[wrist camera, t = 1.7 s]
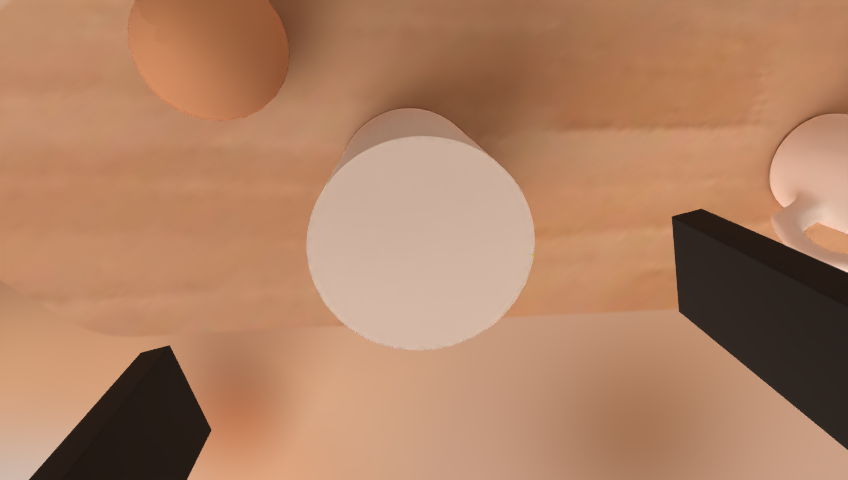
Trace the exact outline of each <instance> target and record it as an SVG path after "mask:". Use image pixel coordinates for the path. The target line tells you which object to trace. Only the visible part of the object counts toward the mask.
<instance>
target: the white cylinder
mask: <svg viewBox="0 0 848 480" xmlns="http://www.w3.org/2000/svg"><path fill="white" fill-rule="evenodd" d="M534 245H535V237H534V226H533V220H532V216H531V212H530V209H529V206H528V204H527V201H526V199H525V197H524V195H523V193H522V191H521V190H520V188H519V186H518V185H517V183H516V182H515V181H514V179H513V178H512V177H511V175H510V174H509V173H508V172H507V171H506V170H505V169H504V168H503V167H502V166H501V165H500V164H499V163H498V162H496V161H495V160H494V159H493V158H492V157H491V156H490V155H489V154H487V153H486V152H485V151H484V150H483V149H482V148H481V147H479V146H478V145H477V144H476V143H475V142H474V141H473V140H471V139H470V138H469V137H468V136H467V135H466V134H465V133H464V132H462V131H461V130H460V129H459V128H458V127H457V126H456V125H454V124H453V123H452V122H451V121H449V120H448V119H446V118H444V117H443V116H441V115H439V114H436V113H434V112H431V111H428V110H423V109H417V108H402V109H396V110H391V111H388V112H385V113H382V114H380V115H378V116H376V117H374V118H373V119H371V120H370V121H368V122H367V123H366V124H364V125H363V126H362V127H361V128H360V129H359V130H358V131H357V132H356V134H355V135H354V136H353V138H352V139H351V141H350V142H349V144H348V146H347V147H346V149H345V151H344V153H343V155H342V156H341V158H340V160H339V162H338V164H337V165H336V167H335V169H334V171H333V173H332V174H331V176H330V178H329V180H328V181H327V183H326V185H325V187H324V189H323V190H322V192H321V194H320V196H319V198H318V200H317V202H316V204H315V206H314V209H313V212H312V215H311V218H310V222H309V227H308V233H307V258H308V265H309V269H310V273H311V276H312V279H313V282H314V284H315V287H316V289H317V291H318V293H319V295H320V296H321V298H322V300H323V301H324V303H325V304H326V305H327V307H328V308H329V309H330V311H331V312H332V313H333V314H334V315H335V316H336V317H337V318H338V319H339V320H340V321H341V322H342V323H343V324H345V325H346V326H347V327H348V328H350V329H351V330H352V331H354V332H356V333H357V334H359V335H361V336H362V337H364V338H366V339H368V340H371V341H373V342H375V343H378V344H381V345H385V346H388V347H392V348H397V349H404V350H432V349H439V348H444V347H448V346H452V345H455V344H458V343H461V342H464V341H466V340H468V339H470V338H472V337H474V336H476V335H478V334H480V333H481V332H483V331H485V330H486V329H487V328H489V327H490V326H492V325H493V324H494V323H495V322H496V321H498V320H499V319H500V318H501V317H502V316H503V315H504V314H505V313H506V312H507V311H508V310H509V308H510V307H511V306H512V305H513V303H514V302H515V301H516V299H517V298H518V296H519V295H520V293H521V291H522V289H523V287H524V285H525V283H526V281H527V278H528V276H529V273H530V269H531V266H532V261H533V256H534Z"/></svg>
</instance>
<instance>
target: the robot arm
mask: <svg viewBox="0 0 848 480" xmlns="http://www.w3.org/2000/svg"><path fill="white" fill-rule="evenodd" d="M672 225H673V238H674V251H675V264H676V277H677V290H678V303H679V312H681V313H682V314H683V315H684V316H685V317H687V318H688V319H689V320H690V321H691V322H693V323H694V324H695V325H697V326H698V327H699V328H700V329H701V330H703V331H704V332H705V333H706V334H707V335H709V336H710V337H711V338H712V339H713V340H715V341H716V342H717V343H718V344H719V345H721V346H722V347H723V348H724V349H726V350H727V351H728V352H729V353H730V354H732V355H733V356H734V357H736V358H737V359H738V360H739V361H740V362H741V363H743V364H744V365H745V366H746V367H747V368H749V369H750V370H751V371H752V372H754V373H755V374H756V375H757V376H758V377H760V378H761V379H762V380H763V381H765V382H766V383H767V384H768V385H769V386H771V387H772V388H773V389H774V390H775V391H777V392H778V393H779V394H781V395H782V396H783V397H784V398H785V399H787V400H788V401H789V402H790V403H791V404H793V405H794V406H795V407H796V408H798V409H799V410H800V411H801V412H802V413H804V414H805V415H806V416H807V417H808V418H810V419H811V420H812V421H814V423H816V424H817V425H818V426H819V427H821V428H822V429H823V430H824V431H826V432H827V433H828V434H829V435H830V436H832V437H833V438H834V439H835V440H836V441H838V442H839V443H840V444H841V445H843V446H844V447H845V448H846V449H847V450H848V272H845V271H843V270H841V269H839V268H836V267H834V266H832V265H829V264H827V263H825V262H822V261H820V260H818V259H816V258H813V257H811V256H809V255H806V254H804V253H802V252H799V251H797V250H795V249H793V248H790V247H788V246H786V245H783V244H781V243H779V242H777V241H774V240H772V239H770V238H767V237H765V236H763V235H760V234H758V233H756V232H754V231H751V230H749V229H747V228H744V227H742V226H740V225H738V224H735V223H733V222H731V221H728V220H726V219H724V218H721V217H719V216H717V215H715V214H712V213H710V212H708V211H705V210H703V209H699V210H695V211H691V212H688V213H684V214H680V215H676V216H672ZM210 432H211V428H210V426H209V424H208V422H207V420H206V418H205V416H204V414H203V412H202V410H201V408H200V406H199V404H198V402H197V400H196V398H195V396H194V394H193V392H192V390H191V388H190V386H189V384H188V381H187V379H186V377H185V375H184V373H183V372H182V369H181V368H180V365H179V363H178V361H177V359H176V357H175V355H174V353H173V351H172V349H171V347H170V346H165V347H162V348H158V349H154V350H150V351H146V352H142V353H140V354H139V356H138V357H137V358H136V359H135V360H134V361H133V362H132V363H131V365H130V366H129V367H128V368H127V369H126V370H125V371H124V373H123V374H122V375H121V376H120V377H119V378H118V379H117V381H116V382H115V383H114V384H113V385H112V386H111V387H110V389H109V390H108V391H107V392H106V393H105V394H104V395H103V396H102V397H101V399H100V400H99V401H98V402H97V403H96V404H95V405H94V407H93V408H92V409H91V410H90V411H89V412H88V413H87V414H86V416H85V417H84V418H83V419H82V420H81V421H80V422H79V424H78V425H77V426H76V427H75V428H74V429H73V430H72V432H71V433H70V434H69V435H68V436H67V437H66V438H65V439H64V441H63V442H62V443H61V444H60V445H59V446H58V447H57V449H56V450H55V451H54V452H53V453H52V454H51V455H50V457H49V458H48V459H47V460H46V461H45V462H44V463H43V464H42V466H41V467H40V468H39V469H38V470H37V471H36V472H35V473H34V475H33V476H32V477H31V478H30V479H29V480H187V478H188V476H189V474H190V472H191V470H192V468H193V466H194V464H195V462H196V460H197V458H198V456H199V454H200V452H201V450H202V448H203V446H204V444H205V442H206V440H207V437H208V436H209V434H210Z"/></svg>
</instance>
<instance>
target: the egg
mask: <svg viewBox="0 0 848 480" xmlns="http://www.w3.org/2000/svg"><path fill="white" fill-rule="evenodd" d="M128 39H129V48H130V51H131V54H132V57H133V59H134V62H135V65H136V67H137V69H138V70H139V72H140V74H141V76H142V77H143V79H144V80H145V81H146V83H147V84H148V85H149V86H150V88H151V89H152V90H153V91H154V92H155V93H156V94H157V95H158V96H159V97H160V98H161V99H162V100H163V101H165V102H166V103H168V104H170V105H171V106H173V107H174V108H176V109H177V110H180V111H182V112H184V113H186V114H188V115H191V116H195V117H198V118H202V119H209V120H218V121H224V120H232V119H237V118H242V117H246V116H248V115H250V114H252V113H254V112H256V111H258V110H260V109H262V108H263V107H264V106H265V105H266V104H267V103H268V102H270V101H271V100H272V99H273V98H274V97H275V96H276V94H277V93H278V91H279V89H280V88H281V86H282V84H283V83H284V80H285V77H286V74H287V70H288V63H289V48H288V39H287V35H286V32H285V29H284V27H283V24H282V21H281V19H280V17H279V16H278V14H277V12H276V11H275V9H274V8H273V6H272V5H271V4H270V2H269V1H268V0H136V1H135V3H134V5H133V7H132V9H131V12H130V16H129V23H128Z"/></svg>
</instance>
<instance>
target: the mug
mask: <svg viewBox="0 0 848 480" xmlns="http://www.w3.org/2000/svg"><path fill="white" fill-rule="evenodd" d="M770 187H771V190H772V193H773V195H774V197H775V199H776V200H777V201H778V203H779V204H780V205H782V206H783V207H784V208H783V209H781V210H779V211H777V212H775V213H774V214H773V215H772V216H771V223H772V225H773V228H774V230H775V232H776V233H777V235H778V236H779V237H780V239H781V240H782V242H783V243H784V245H786V246H788V247H790V248H793V249H795V250H797V251H799V252H802V253H804V254H806V255H809V256H811V257H813V258H816V259H818V260H820V261H822V262H825V263H827V264H829V265H832V266H834V267H836V268H839V269H841V270H843V271H845V272H848V254H842V253H837V252H833V251H830V250H827V249H825V248H822V247H821V246H819V245H817V244H815V243H814V242H812V241H811V240H810V239H809V238H808V237H807V236H806V235H805V234H804V231H805V230H806V229H807V228H808V227H810V226H811V225H813V224H815V223H820V224H822V225H825V226H828V227H830V228H833V229H836V230H838V231H841V232H843V233H846V234H848V114H825V115H820V116H817V117H814V118H812V119H809V120H807V121H806V122H804V123H802V124H801V125H799V126H798V127H797V128H795V129H794V130H793V131H792V132H791V133H790V134H789V135H788V136H787V137H786V138H785V139H784V140H783V142H782V143H781V145H780V146H779V148H778V149H777V151H776V153H775V155H774V158H773V161H772V164H771V168H770Z"/></svg>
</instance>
